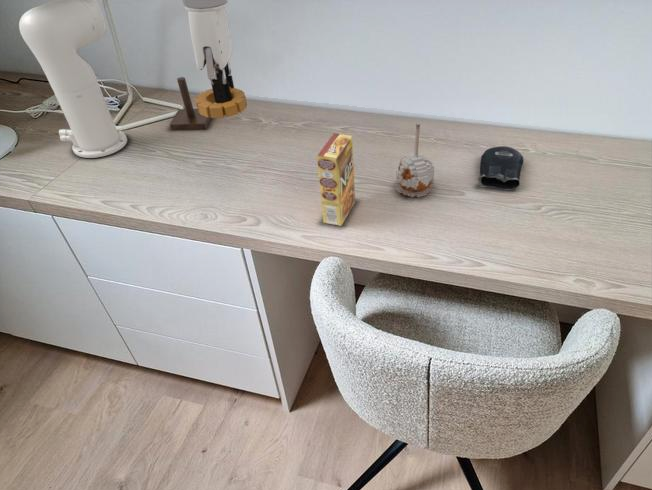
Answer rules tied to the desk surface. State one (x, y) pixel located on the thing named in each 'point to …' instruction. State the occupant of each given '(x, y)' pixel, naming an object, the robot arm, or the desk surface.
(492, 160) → the electronic device
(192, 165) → the desk surface
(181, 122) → the stand
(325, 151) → the candy box
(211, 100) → the ring
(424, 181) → the caramel apple
